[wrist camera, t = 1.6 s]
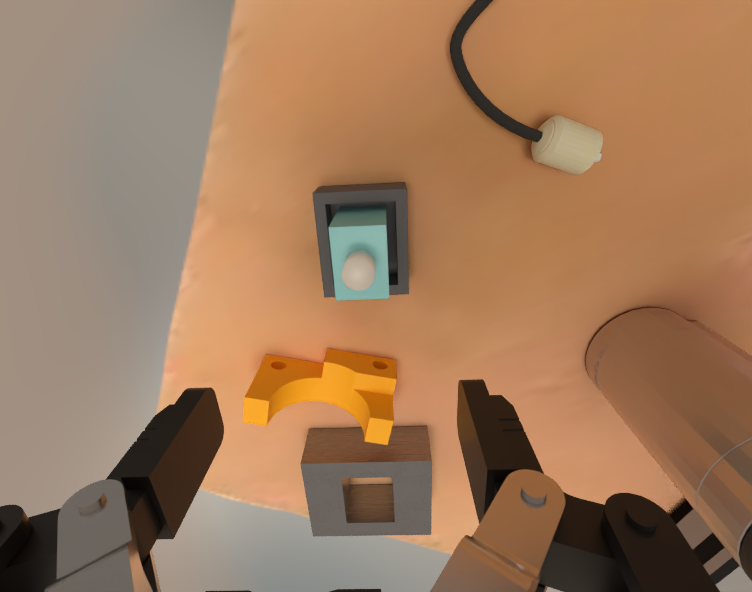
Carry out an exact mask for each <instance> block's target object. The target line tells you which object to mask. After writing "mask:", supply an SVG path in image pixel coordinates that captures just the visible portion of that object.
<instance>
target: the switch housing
mask: <svg viewBox="0 0 752 592" xmlns="http://www.w3.org/2000/svg"><path fill="white" fill-rule="evenodd" d="M301 469H302V475H303V481H304V486H305V492H306V498H307V504H308V509H309V515H310V521H311V527H312V532H313V536H362V535H364V536H366V535H431V481H432V460H431V453H430V445H429V438H428V431H427V426H401V427H392V429H391V433H390V437H389V441H388V445H384V444H378V443H371V442H365V441H364V432H363V429H362V428H323V429H309V431H308V436H307V440H306V444H305V448H304V452H303V456H302V460H301ZM367 477H393V484H377V485H350V478H367Z"/></svg>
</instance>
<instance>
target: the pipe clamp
mask: <svg viewBox="0 0 752 592" xmlns="http://www.w3.org/2000/svg"><path fill="white" fill-rule="evenodd" d="M396 381H397V370H396V360H393V359H387V358H382V357H376V356H370V355H364V354H358V353H352V352H346V351H340V350H334V349H329V348H327V352H326V356H325V360H324V364H322V363H316V362H310V361H304V360H298V359H292V358H286V357H280V356H274V355H268V354H266V356H265V358H264V360H263V362H262V364H261V366H260V368H259V370H258V372H257V374H256V376H255V378H254V380H253V382H252V384H251V386H250V388H249V389H248V391H247V393H246V395H245V398H244V415H243V422H244V423H250V424H256V425H263V426H267V425H268V422H269V421H270V419H271V418H272V417H273V416H274V415H275V414H276V413H277V412H278V411H279V410H281V409H283V408H284V407H286V406H289V405H291V404H294V403H298V402H304V401H321V402H327V403H331V404H334V405H337V406H339V407H341V408H343V409H345V410H346V411H348V412H349V413H351V414H352V415H353V416H354V417H355V418H356V419H357V421H358V422H359V423H360V425H361V427H362V429H363V432H364V441H365V442H371V443H378V444H384V445H388V441H389V437H390V433H391V429H392V426H393V422H394V416H393V393H394V389H395V385H396Z"/></svg>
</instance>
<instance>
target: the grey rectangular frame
mask: <svg viewBox="0 0 752 592" xmlns="http://www.w3.org/2000/svg"><path fill="white" fill-rule="evenodd" d="M313 202H314V211H315V220H316V228H317V237H318V246H319V254H320V263H321V272H322V281H323V289H324V297H336V296H335V287H334V277H333V267H332V257H331V248H330V238H329V228H328V227H329V226H330V224H331V222H332V220H333V218H334V216H335V214H336V212H337V210H338V208H339V207H344V206H365V205H385V204H386V217H387V241H388V266H389V295H398V294H409V277H408V226H407V188H406V185H405V182H401V183H381V184H361V185H341V186H321V187H318V188H317V189H316V190H315V191H314V192H313Z"/></svg>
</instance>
